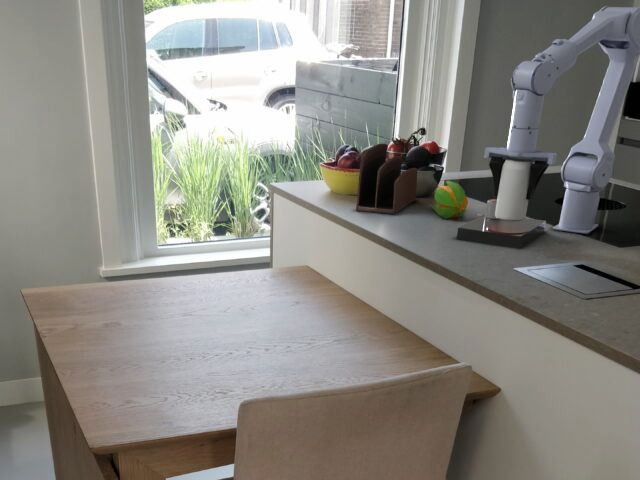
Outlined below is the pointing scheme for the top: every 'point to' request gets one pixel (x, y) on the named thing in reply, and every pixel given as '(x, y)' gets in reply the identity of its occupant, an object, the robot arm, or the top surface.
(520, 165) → the can
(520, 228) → the burner ring
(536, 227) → the hob
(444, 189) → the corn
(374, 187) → the letter holder
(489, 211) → the knob
